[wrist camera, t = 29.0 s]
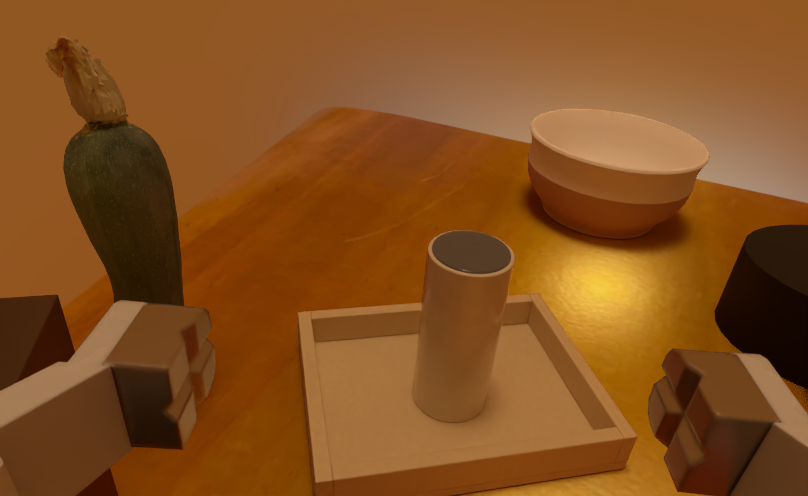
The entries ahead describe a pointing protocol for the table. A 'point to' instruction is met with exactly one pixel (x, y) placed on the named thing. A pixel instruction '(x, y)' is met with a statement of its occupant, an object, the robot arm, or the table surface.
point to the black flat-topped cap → (770, 300)
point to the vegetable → (119, 184)
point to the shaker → (460, 323)
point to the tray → (442, 441)
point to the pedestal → (38, 352)
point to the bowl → (611, 170)
